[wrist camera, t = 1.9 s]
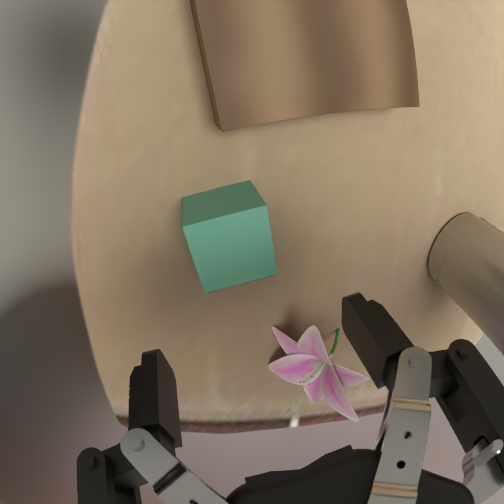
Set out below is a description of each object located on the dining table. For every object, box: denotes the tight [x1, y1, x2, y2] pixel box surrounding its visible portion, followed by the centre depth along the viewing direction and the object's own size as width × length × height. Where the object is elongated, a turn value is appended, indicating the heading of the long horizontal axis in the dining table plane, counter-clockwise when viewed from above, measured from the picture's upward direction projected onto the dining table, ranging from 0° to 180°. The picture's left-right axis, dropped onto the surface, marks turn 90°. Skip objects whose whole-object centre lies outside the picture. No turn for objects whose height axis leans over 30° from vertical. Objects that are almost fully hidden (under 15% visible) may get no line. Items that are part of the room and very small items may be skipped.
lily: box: [268, 326, 370, 422], centre depth 29 cm, size 12×12×10 cm
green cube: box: [182, 180, 278, 294], centre depth 21 cm, size 5×5×5 cm
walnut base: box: [190, 0, 419, 132], centre depth 15 cm, size 14×14×4 cm
